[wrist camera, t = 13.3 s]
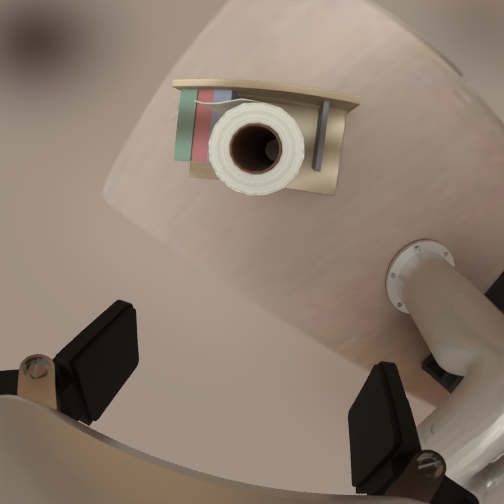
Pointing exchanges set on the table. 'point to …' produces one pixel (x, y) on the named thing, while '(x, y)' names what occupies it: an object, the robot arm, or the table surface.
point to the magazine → (500, 296)
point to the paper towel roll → (254, 146)
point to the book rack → (309, 121)
